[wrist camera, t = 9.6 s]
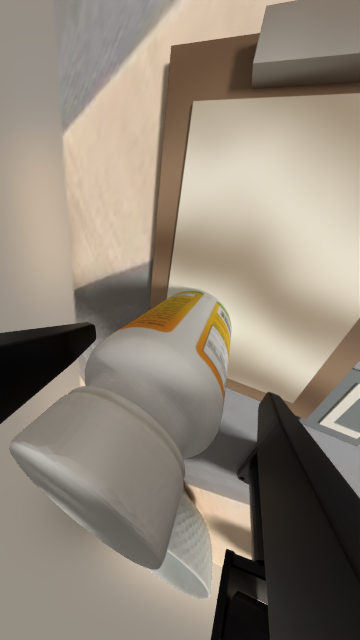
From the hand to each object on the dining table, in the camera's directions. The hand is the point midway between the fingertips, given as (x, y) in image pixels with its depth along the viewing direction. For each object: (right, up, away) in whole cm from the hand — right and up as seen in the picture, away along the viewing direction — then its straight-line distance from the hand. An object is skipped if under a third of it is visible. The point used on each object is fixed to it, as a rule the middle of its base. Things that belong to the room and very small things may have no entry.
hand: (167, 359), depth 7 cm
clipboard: (+5, +5, +2) cm, 7 cm away
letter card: (+13, -4, +3) cm, 14 cm away
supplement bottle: (+2, +2, +4) cm, 5 cm away
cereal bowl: (-1, -27, +19) cm, 33 cm away
